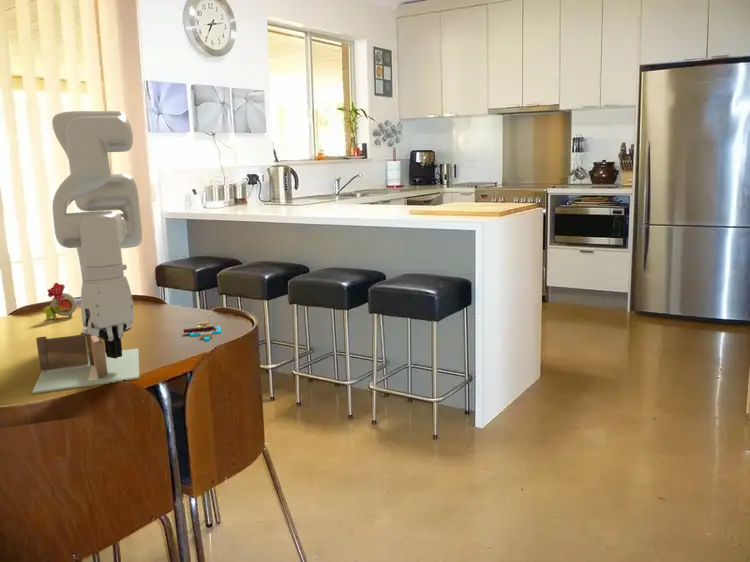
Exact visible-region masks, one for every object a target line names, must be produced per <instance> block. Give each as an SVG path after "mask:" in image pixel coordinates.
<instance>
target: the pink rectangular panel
mask: <svg viewBox="0 0 750 562" xmlns="http://www.w3.org/2000/svg"><path fill="white" fill-rule="evenodd" d="M90 338H91V346H92V354H93V362H94V366H95V368H96V370H97V376H98V377H102V376H106V375H108V372H107V364H106V356H105V353H106V352H105V343H104V340H102V341H100V338H99V339H98V337H97V336H90Z"/></svg>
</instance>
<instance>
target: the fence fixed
mask: <svg viewBox="0 0 750 562" xmlns="http://www.w3.org/2000/svg"><path fill="white" fill-rule="evenodd" d="M90 336H92V335H88V334H87V330H86V334H84V333H83V334H76V335H69V336H61V337H51V338H50V337H49V338H47V336H39V337H36V338H35V340H36V346H37V355H38V360H39V361H38V362H39V368H40V369H39V370H41V371H42V370H50V369H57V368H65V367H72V366H80V365H87V364H88V356H87V355H89V358H90V365H92V366H94V362H93V354H92V346H91V338H90ZM97 337H98V339H99V340H100V337H99V336H97Z"/></svg>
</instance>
